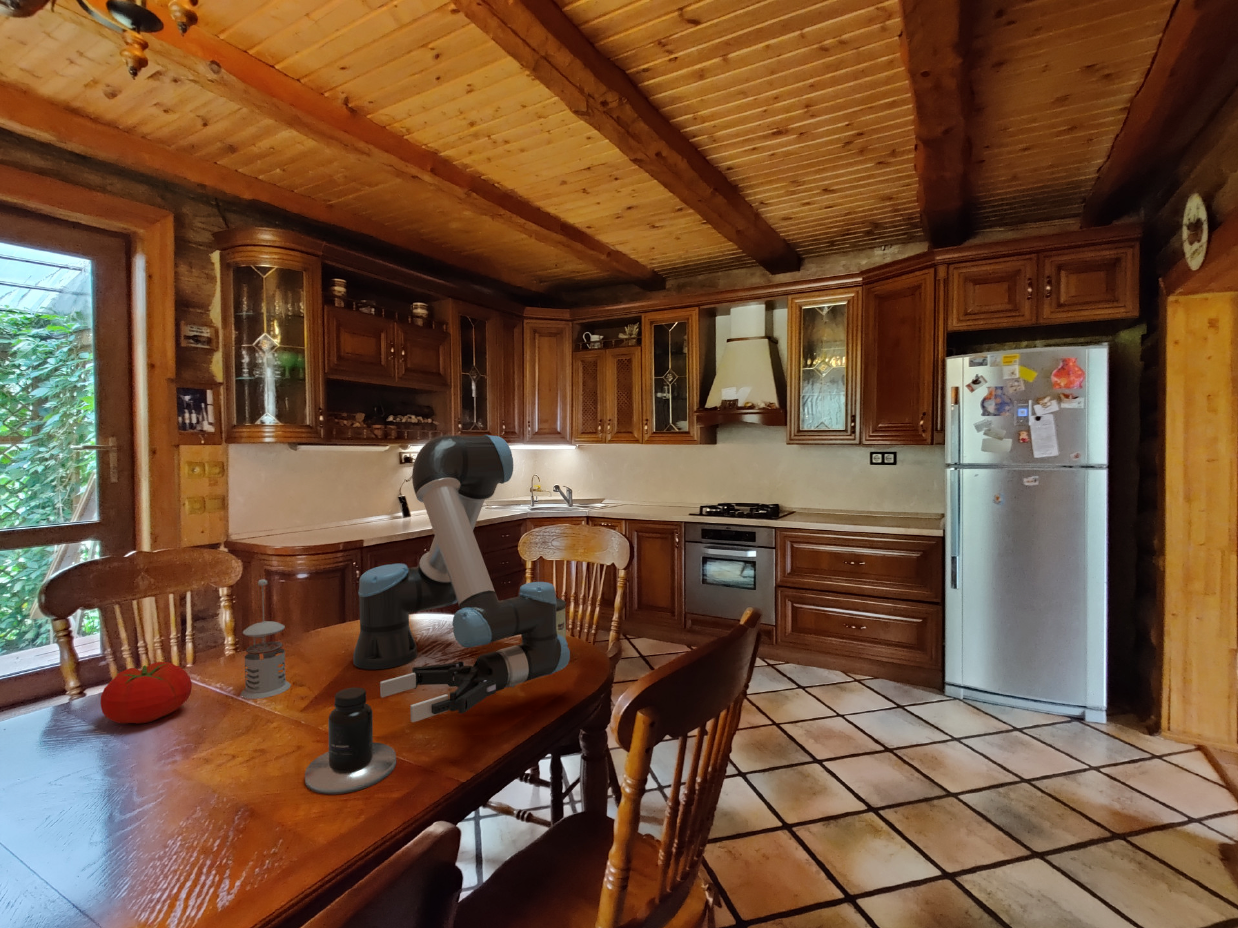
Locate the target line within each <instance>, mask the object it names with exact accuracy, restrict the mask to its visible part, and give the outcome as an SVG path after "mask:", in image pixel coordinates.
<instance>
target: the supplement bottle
mask: <svg viewBox="0 0 1238 928" xmlns="http://www.w3.org/2000/svg"><path fill="white" fill-rule="evenodd" d="M373 720H374V719H373V709H372V707H371V706H370V705H369V704H368V703H367V691H366V689H365V688H363V687H358V686H357V687H349V688H344V689H341V690H340V691H338V692H336V693H335V695H334V709H333V710H332V711H331V712H330V713H329V716H328V725H327V726H328V751H329V766H330V768H331V769H332V770H334V771H337V772H350V771H355V770H358V769H360V768H363V767H364V766H366V765H367V764H368V763H369V762H370V761H371V759H372V757H373V741H374V739H373V737H374V736H373V734H374V731H373V730H374V729H373V727H374V726H373V725H374V724H373V722H374V721H373Z"/></svg>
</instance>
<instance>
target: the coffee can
mask: <svg viewBox="0 0 1238 928" xmlns="http://www.w3.org/2000/svg"><path fill="white" fill-rule="evenodd" d="M556 602H557V605H556V631H557V635H561V636H562V637H564V639H565V640H566V641H567V630H566V629H567V627H566V625H567V622H566V621H567V620H566V619H567V618H566V617H567V616H566V605H567V602H566V600H564V599H561V598H557V597H556Z"/></svg>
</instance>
